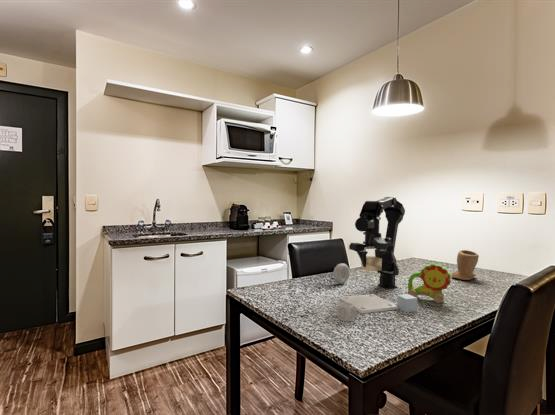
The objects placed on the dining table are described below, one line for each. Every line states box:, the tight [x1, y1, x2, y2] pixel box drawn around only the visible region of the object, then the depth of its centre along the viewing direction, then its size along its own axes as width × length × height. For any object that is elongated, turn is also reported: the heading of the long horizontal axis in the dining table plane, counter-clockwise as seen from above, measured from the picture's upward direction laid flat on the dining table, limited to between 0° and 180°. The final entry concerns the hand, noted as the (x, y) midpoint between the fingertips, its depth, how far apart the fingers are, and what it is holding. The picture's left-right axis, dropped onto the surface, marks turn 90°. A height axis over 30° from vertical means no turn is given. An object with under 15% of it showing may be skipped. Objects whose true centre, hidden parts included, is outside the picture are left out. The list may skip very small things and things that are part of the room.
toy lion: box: [406, 262, 452, 304], centre depth 130 cm, size 16×5×15 cm, turn 59°
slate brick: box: [396, 293, 418, 313], centre depth 119 cm, size 5×5×5 cm
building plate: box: [338, 293, 399, 314], centre depth 124 cm, size 16×16×2 cm
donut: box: [332, 262, 351, 285], centre depth 153 cm, size 10×4×10 cm, turn 125°
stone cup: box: [450, 249, 480, 281], centre depth 167 cm, size 15×12×15 cm
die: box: [336, 302, 358, 323], centre depth 108 cm, size 5×5×5 cm
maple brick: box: [360, 255, 382, 272], centre depth 135 cm, size 6×6×5 cm
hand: (370, 266), depth 135 cm, fingers closed on maple brick, 6 cm apart
